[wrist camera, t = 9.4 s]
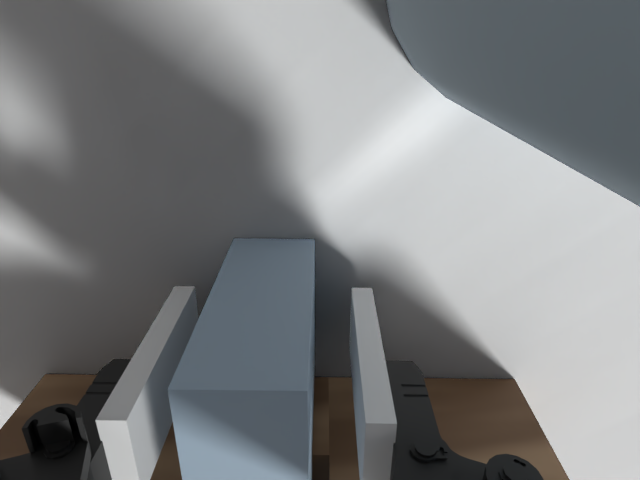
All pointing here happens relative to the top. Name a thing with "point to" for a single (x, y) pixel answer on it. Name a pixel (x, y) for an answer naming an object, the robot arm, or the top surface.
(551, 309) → the top surface
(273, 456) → the slotted plate
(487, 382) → the slotted stand
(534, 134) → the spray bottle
